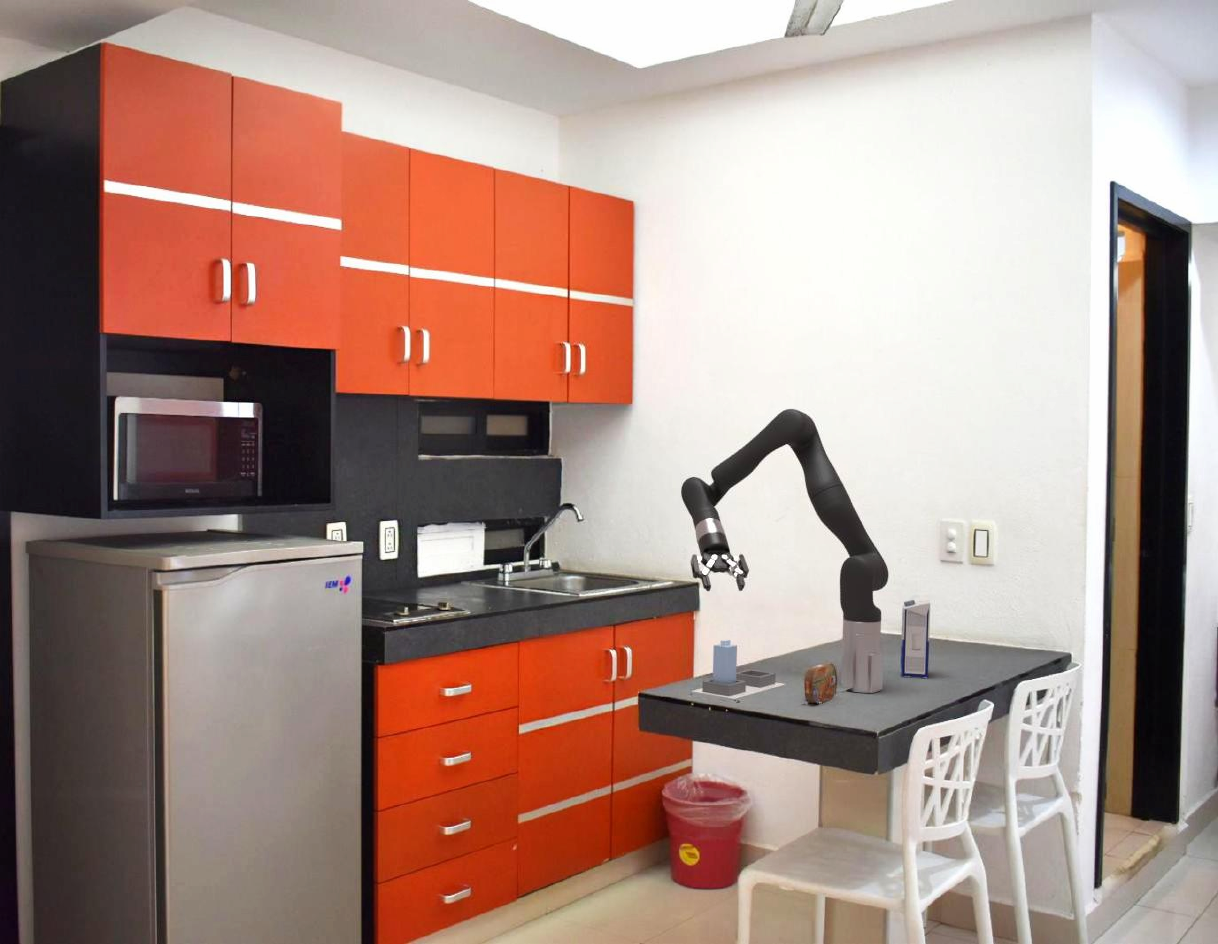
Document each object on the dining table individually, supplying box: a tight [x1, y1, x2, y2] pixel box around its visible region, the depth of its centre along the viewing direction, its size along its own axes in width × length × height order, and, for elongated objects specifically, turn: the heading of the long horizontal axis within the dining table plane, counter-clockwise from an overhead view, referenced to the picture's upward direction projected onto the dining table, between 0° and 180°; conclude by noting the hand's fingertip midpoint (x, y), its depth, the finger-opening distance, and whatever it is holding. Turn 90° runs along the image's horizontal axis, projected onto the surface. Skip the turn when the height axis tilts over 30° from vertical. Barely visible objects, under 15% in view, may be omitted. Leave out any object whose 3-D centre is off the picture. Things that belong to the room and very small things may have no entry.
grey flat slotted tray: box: [691, 669, 787, 701], centre depth 289 cm, size 12×24×4 cm, turn 142°
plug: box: [712, 639, 738, 685], centre depth 283 cm, size 4×4×12 cm
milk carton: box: [900, 599, 931, 678], centre depth 317 cm, size 7×7×20 cm
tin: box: [803, 662, 838, 705], centre depth 281 cm, size 15×3×8 cm, turn 148°
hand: (725, 589), depth 299 cm, fingers open, 8 cm apart
